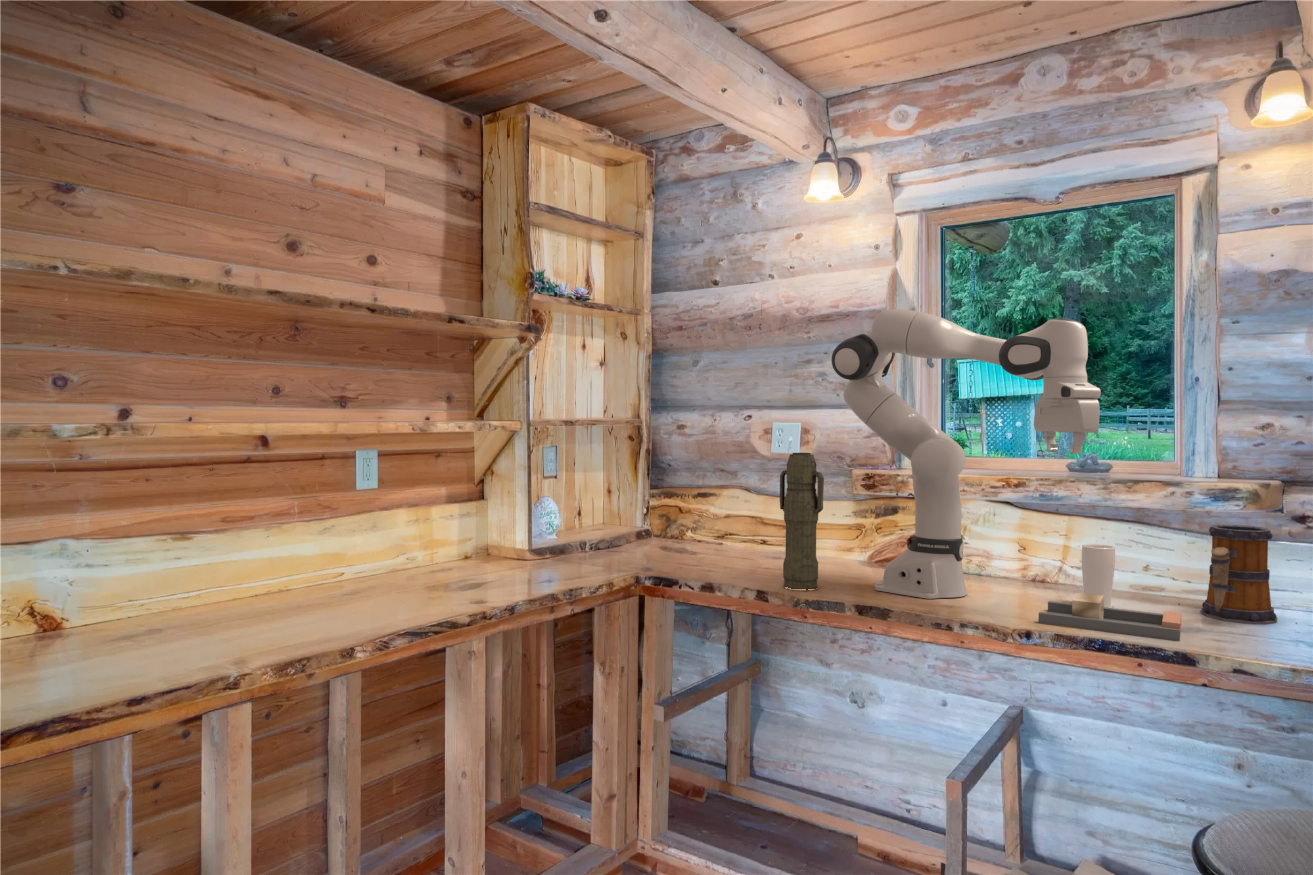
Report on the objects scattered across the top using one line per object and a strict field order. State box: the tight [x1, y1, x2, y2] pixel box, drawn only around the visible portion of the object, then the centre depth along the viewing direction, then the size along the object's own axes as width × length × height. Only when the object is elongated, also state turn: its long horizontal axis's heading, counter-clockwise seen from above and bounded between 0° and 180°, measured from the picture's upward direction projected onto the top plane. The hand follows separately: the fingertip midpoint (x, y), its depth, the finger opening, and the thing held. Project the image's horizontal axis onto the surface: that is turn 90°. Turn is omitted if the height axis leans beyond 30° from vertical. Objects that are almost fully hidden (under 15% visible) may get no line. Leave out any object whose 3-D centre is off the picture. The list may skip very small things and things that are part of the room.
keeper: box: [1071, 592, 1104, 619], centre depth 175 cm, size 5×9×5 cm, turn 147°
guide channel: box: [1038, 600, 1182, 642], centre depth 173 cm, size 25×14×4 cm, turn 57°
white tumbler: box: [1081, 543, 1116, 608], centre depth 191 cm, size 7×7×15 cm
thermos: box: [779, 452, 825, 590], centre depth 216 cm, size 9×12×35 cm
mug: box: [1199, 524, 1278, 626], centre depth 185 cm, size 19×14×20 cm
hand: (1063, 452), depth 187 cm, fingers open, 8 cm apart
